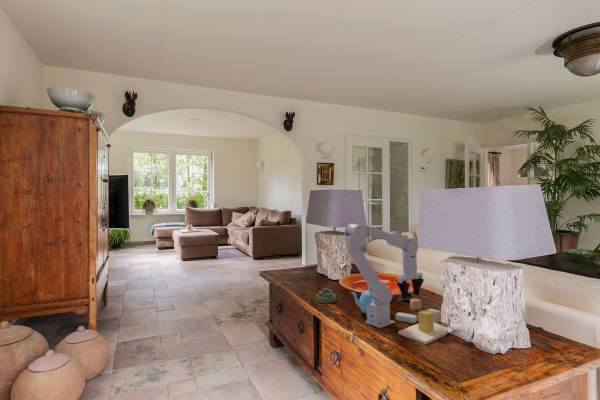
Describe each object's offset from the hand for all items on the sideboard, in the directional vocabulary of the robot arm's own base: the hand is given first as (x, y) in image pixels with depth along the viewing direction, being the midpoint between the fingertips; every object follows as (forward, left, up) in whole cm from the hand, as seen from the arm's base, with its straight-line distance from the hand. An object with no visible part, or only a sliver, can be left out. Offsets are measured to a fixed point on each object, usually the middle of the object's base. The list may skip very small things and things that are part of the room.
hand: (410, 296), depth 147 cm
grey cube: (+4, -8, -10) cm, 13 cm away
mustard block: (-8, -13, -8) cm, 17 cm away
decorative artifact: (-11, +45, -10) cm, 47 cm away
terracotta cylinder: (+12, +6, -10) cm, 16 cm away
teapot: (-8, +16, -10) cm, 21 cm away
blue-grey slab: (-3, 0, -10) cm, 10 cm away
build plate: (+19, +16, -10) cm, 27 cm away
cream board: (-8, -13, -9) cm, 18 cm away
